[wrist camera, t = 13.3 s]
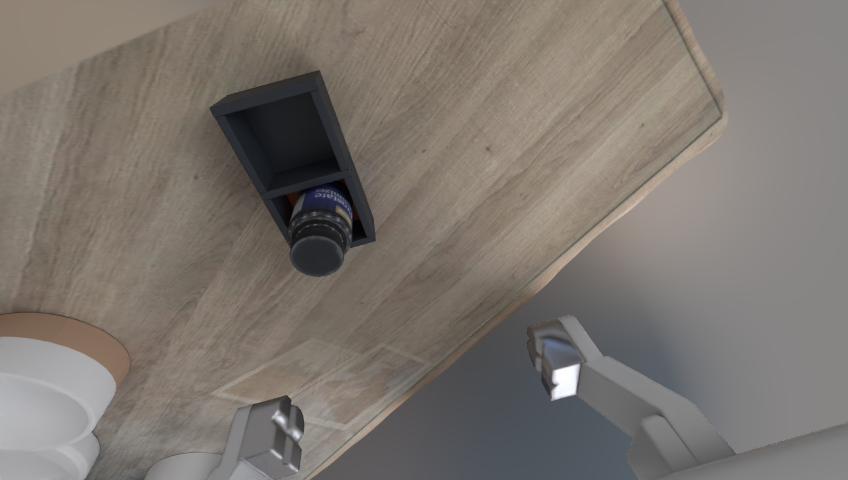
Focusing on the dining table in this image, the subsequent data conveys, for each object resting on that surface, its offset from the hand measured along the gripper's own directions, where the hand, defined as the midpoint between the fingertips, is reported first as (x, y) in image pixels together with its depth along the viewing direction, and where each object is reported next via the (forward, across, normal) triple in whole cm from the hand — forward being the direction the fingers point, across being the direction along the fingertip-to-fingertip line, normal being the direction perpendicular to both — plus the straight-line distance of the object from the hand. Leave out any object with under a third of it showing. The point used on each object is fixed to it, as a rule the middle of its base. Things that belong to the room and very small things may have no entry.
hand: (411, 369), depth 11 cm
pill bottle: (+29, +8, +8) cm, 31 cm away
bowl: (+30, +51, +19) cm, 62 cm away
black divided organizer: (+30, +8, +3) cm, 31 cm away
